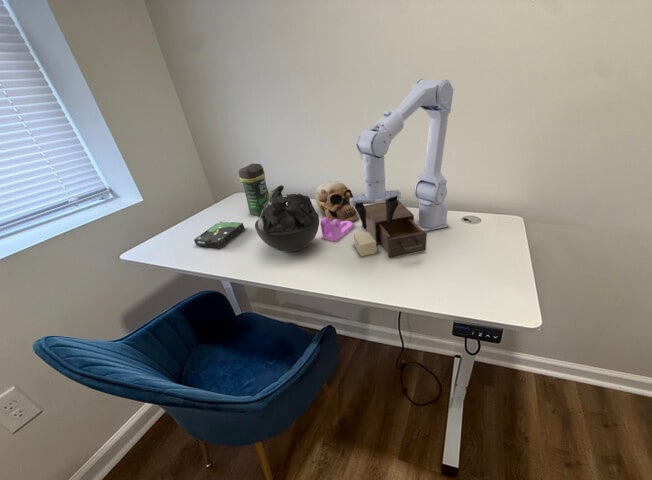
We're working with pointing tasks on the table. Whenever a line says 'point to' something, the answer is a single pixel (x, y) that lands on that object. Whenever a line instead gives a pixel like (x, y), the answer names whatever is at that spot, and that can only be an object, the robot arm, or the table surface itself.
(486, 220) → the table surface
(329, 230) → the bracket
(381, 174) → the robot arm
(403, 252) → the drawer
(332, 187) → the skull
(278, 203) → the bowl of black rocks
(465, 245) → the table surface
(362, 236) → the beige rectangular block
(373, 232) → the cabinet
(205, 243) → the disk drive
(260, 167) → the coffee jar
